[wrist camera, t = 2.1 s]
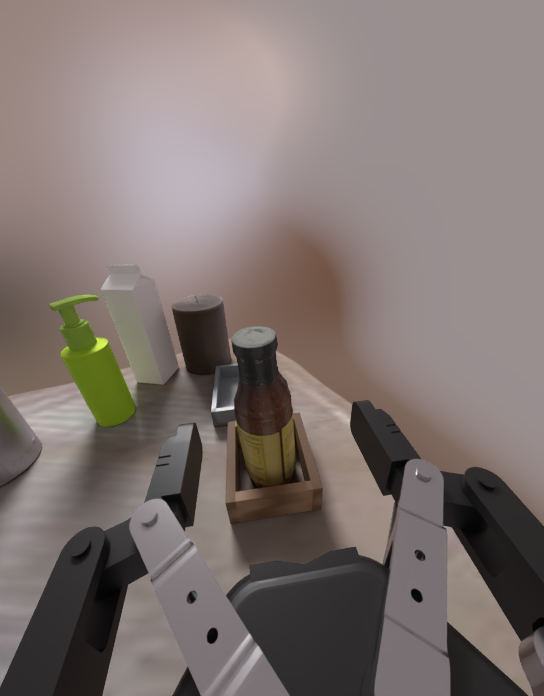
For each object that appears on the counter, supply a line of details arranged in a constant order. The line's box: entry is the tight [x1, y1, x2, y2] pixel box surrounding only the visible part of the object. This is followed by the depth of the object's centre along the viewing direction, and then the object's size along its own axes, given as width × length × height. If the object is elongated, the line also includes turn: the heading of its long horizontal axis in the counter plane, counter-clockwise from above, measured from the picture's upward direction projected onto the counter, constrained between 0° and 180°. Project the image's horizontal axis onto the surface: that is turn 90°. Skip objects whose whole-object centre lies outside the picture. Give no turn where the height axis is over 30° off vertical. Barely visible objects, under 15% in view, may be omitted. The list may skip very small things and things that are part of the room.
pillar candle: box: [172, 295, 231, 375], centre depth 53 cm, size 10×10×15 cm
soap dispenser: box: [49, 295, 136, 427], centre depth 39 cm, size 6×7×20 cm
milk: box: [101, 265, 179, 385], centre depth 47 cm, size 6×6×22 cm
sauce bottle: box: [232, 327, 296, 488], centre depth 28 cm, size 6×6×20 cm
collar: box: [226, 413, 322, 524], centre depth 32 cm, size 10×11×4 cm
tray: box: [211, 363, 239, 427], centre depth 45 cm, size 11×12×3 cm
